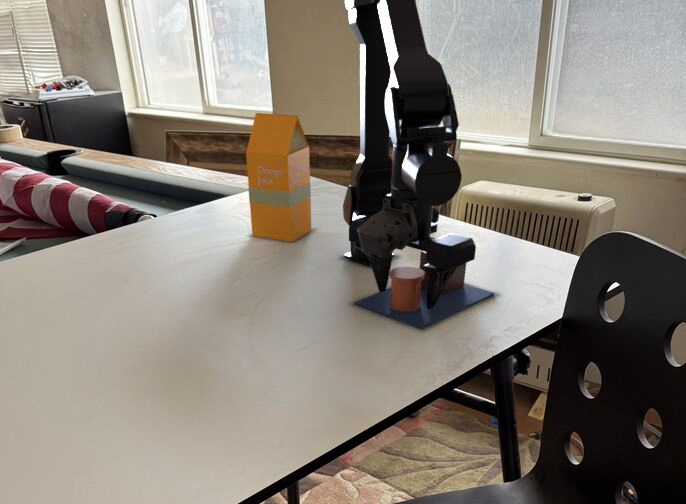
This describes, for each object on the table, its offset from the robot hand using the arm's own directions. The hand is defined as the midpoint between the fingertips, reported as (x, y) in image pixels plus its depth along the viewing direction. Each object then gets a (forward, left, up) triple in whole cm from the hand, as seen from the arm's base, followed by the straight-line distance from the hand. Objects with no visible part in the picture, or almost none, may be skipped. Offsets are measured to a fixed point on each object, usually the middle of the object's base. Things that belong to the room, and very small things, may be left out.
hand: (405, 299), depth 101 cm
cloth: (0, +5, -1) cm, 5 cm away
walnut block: (-1, +10, -1) cm, 10 cm away
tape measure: (-25, +33, -2) cm, 41 cm away
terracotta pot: (0, 0, -1) cm, 1 cm away
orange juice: (-41, +12, -2) cm, 43 cm away
